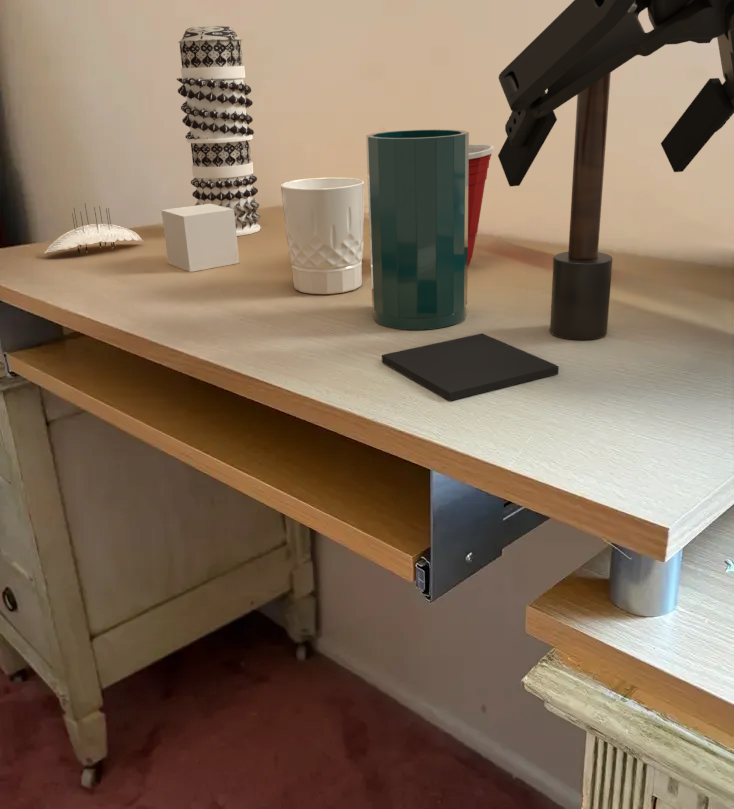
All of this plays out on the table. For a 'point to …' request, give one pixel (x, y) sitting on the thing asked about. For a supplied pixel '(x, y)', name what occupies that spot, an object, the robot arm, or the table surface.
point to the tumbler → (418, 227)
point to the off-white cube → (200, 237)
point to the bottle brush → (585, 229)
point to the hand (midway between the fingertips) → (592, 164)
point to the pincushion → (92, 235)
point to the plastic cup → (476, 189)
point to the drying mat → (468, 366)
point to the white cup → (325, 233)
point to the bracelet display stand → (219, 122)
